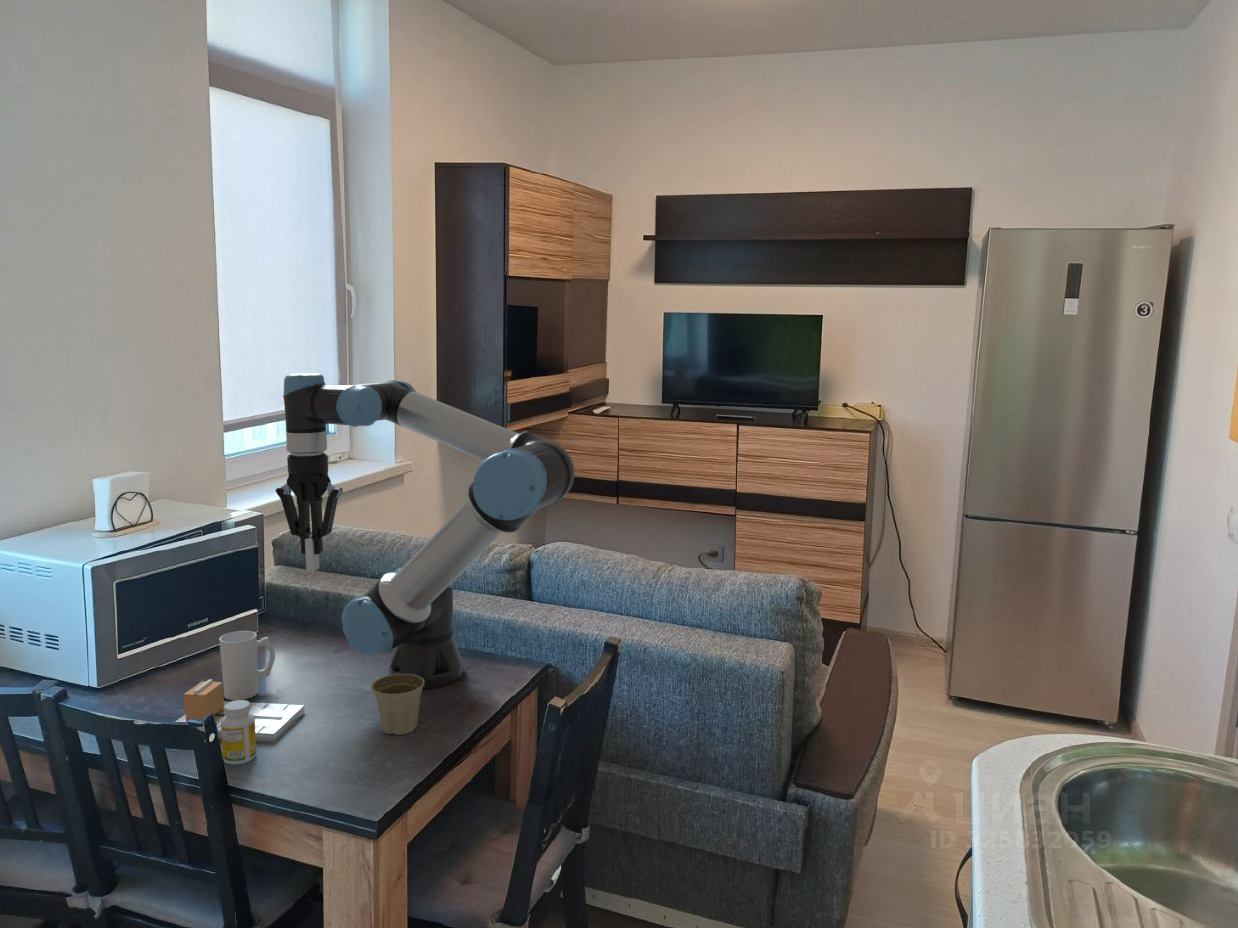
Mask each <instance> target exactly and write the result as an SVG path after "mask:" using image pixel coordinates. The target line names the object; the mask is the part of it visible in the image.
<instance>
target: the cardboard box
mask: <svg viewBox="0 0 1238 928" xmlns="http://www.w3.org/2000/svg"><path fill="white" fill-rule="evenodd" d="M224 699H225V696H224V685H223V681H213V679H212V678H211V679H207V680H206V681H205V680H204V681H203V680H202V681H200V682H199V683H198V684H196V685H195V686H193V687H192V688H191V689H189V690H188V691H186V692H185V693H184V694H183V700H184V713H185V714H184V715H185V717H186V720H190V719H202V718H204V717H205V716H206V715H207V714H208V713H213V714H214V715H215V714H217V713H218V712H219V711H220V710H222V709H223V708H224V701H225V700H224Z"/></svg>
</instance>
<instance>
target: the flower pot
mask: <svg viewBox="0 0 1238 928" xmlns="http://www.w3.org/2000/svg"><path fill="white" fill-rule="evenodd" d="M424 683H425V681H424V679H423V678H422V677H420V676H417V675H414V674H394V675H389V674H388V675H385V676H382V677H380V678H378V679H376V680H374V681H373V682H372V683H371V686H370V687H371V691H372V692H373V694H374V697H375V699H376V703H377V707H378V713H379V717H380V723H381V728H382V731H383V732H384V733H385V734H387V735H392V734H394V735H396V736H402V735H406V734H409V733H412V732H413V731H415V729H416V728H417V727H418V721H419V711H420V701H421V694H422V692H423V688H422V687H423V686H424Z"/></svg>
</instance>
